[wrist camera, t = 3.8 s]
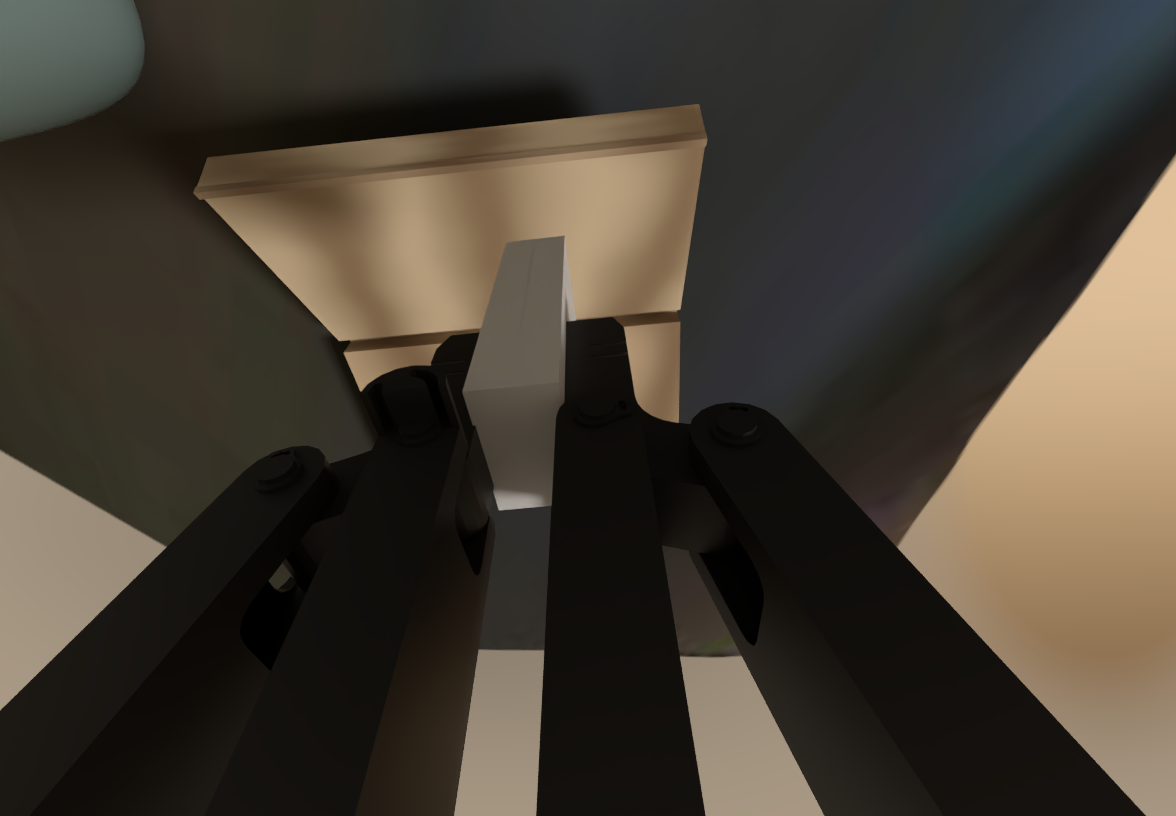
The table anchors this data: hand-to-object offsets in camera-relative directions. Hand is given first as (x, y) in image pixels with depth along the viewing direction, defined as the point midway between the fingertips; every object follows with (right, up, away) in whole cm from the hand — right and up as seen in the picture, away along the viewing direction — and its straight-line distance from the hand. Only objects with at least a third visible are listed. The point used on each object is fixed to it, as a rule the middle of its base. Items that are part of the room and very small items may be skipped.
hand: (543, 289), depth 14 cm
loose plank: (-3, +5, +9) cm, 11 cm away
